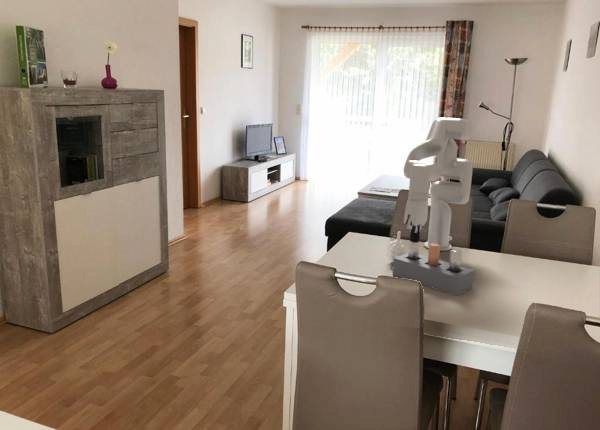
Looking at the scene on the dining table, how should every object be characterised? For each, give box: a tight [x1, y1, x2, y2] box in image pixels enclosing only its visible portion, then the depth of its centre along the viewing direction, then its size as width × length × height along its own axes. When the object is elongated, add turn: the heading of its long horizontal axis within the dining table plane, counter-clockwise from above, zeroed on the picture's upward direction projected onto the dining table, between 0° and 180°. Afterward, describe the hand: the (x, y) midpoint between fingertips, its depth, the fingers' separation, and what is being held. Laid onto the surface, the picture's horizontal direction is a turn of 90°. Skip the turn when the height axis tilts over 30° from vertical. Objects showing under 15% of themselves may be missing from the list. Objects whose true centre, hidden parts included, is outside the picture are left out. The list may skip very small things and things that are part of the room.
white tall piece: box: [386, 230, 406, 264], centre depth 214 cm, size 8×6×14 cm
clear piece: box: [448, 248, 463, 273], centre depth 187 cm, size 4×4×8 cm
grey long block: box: [392, 252, 476, 297], centre depth 195 cm, size 12×28×7 cm, turn 44°
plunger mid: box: [427, 244, 441, 267], centre depth 193 cm, size 4×4×8 cm
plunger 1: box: [407, 240, 421, 261], centre depth 199 cm, size 4×4×8 cm
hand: (414, 241), depth 198 cm, fingers closed
